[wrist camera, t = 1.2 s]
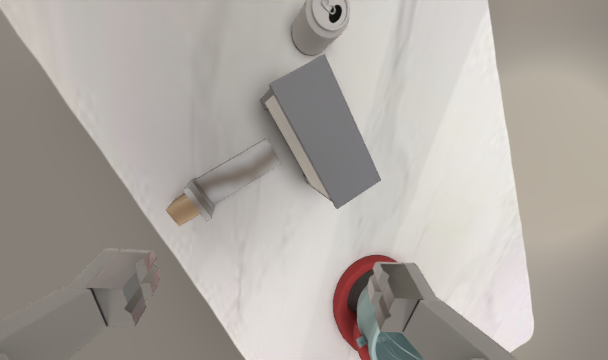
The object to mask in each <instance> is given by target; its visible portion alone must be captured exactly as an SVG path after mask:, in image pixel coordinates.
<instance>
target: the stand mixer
mask: <svg viewBox="0 0 608 360" xmlns="http://www.w3.org/2000/svg"><path fill="white" fill-rule="evenodd" d="M376 262H395V263H397V262H396V261H395V260H393V259H391V258H389V257H386V256H381V255H372V256H368V257H364V258H362V259H360V260H358V261H356V262H355V263H354V264H353V265H351V266H350V267H349V268H348V269H347V271H346V272H345V273H344V274H343V276H342V277H341V279H340V281H339V282H338V285H337V288H336V292H335V296H334V300H333V306H334V317H335V320H336V323H337V325H338V328H339V331H340V332H341V334H342V336H343V338H344V339H345V340H346V341H347V342H348V343H349V344H350V345H351V346H352V347H353V348H354V349H355V350H356V351H358V353H359V356H360V358H361V360H425V359H424V358H423V357H422V356H421V355H420V354H419V352H418V351H417V350H416V349H415V348H414V347H413V345H412V344H411V343H410V342H409V341H408V340H407V338H406V337H405V336H404V335H403V333H399V332H380V329H379V326H378V323H377V320H376V317H375V314H374V313H375V311H376V307H375V306H374V305H373V304H372V303H371V302H370V298H369V294H368V284H367V286H366V287H365V288H364V289H363V291H362V292H361V294H360V296H359V299H358V304H357V314H356V313H354V312H352V311H351V310H350V309H349V306H348V295H349V292H350V290H351V288H352V286H353V284H354V283H355V282H356V281H357V280H358V279H359V278H360V277H361V276H362V275H363V274H365V273H366V272H368V271H370V270H372V269H373V267H374V264H375V263H376ZM433 293H434V292H433ZM437 299H438V301H441V300H440V299H439V298H437Z"/></svg>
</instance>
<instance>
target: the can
mask: <svg viewBox="0 0 608 360" xmlns="http://www.w3.org/2000/svg"><path fill="white" fill-rule="evenodd" d="M349 13H350V6H349V1H348V0H306V1H305V3H304V5H303V7H302V9H301V10H300V12H299V14H298V16H297V18H296V19H295V21H294V24H293V26H292V37H293V41H294V43H295V45H296V47H297V48H298V49H299V50H300V51H301V52H303V53H305V54H308V55H316V54H318V53H320V52H322V51H323V50H324V49H325V48H326V47H327V46H328V45H330V44H331V43H332V42H333V41H334V40H335V39H336V38H337V37H338V36H340V35H341V34H342V32H343V31H344V30H345V29H346V27H347V24H348V22H349Z"/></svg>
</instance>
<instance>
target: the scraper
mask: <svg viewBox="0 0 608 360" xmlns="http://www.w3.org/2000/svg"><path fill="white" fill-rule="evenodd" d="M280 164H281V162H280V160H279V159H278V157H277V155H276V154H275V152H274V150H273V149H272V147H271V145H270V143H269V142H268V140H267V139H264V140H263V141H261V142H259V143H258V144H256V145H254V146H252V147H251V148H249V149H247V150H246V151H244V152H242V153H240V154H239V155H237V156H235V157H234V158H232V159H230V160H228V161H227V162H225V163H223V164H222V165H220V166H218V167H217V168H215V169H213V170H211V171H210V172H208V173H206V174H205V175H203V176H201V177H199V178H198V179H196V178H195V179H193V180H191V181H190V182H189V183H188V185H187V186H186V187H185V188H184V189H183V192H184V194H183V195H181V196H179V197H178V198H176V199H175V200H174V201H173V202H172V203H171V204H170V206H169V207H168V208H167V209H166V211H167V212H168V214H169V215H170V216H171V217H172V218H173V220H174V221H175V222H176V223H177V225H178V226H181V225H182V224H184V223H186V222H187V221H189V220H191V219H192V218H194V217H196V216H197V215H199V214H201V215H202V216H203V218H204V219H205V220H206V221H208V220H209V219H211V218H212V214H213V210H214V206H215V204H216V203H218V202H219V201H221V200H223V199H224V198H226V197H228V196H229V195H231V194H233V193H234V192H236V191H238V190H239V189H241V188H242V187H244V186H246V185H247V184H249V183H251V182H252V181H254V180H256V179H257V178H259V177H261V176H262V175H264V174H266V173H267V172H269V171H270V170H272V169H274V168H275V167H277V166H279V165H280Z"/></svg>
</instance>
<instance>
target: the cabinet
mask: <svg viewBox="0 0 608 360" xmlns="http://www.w3.org/2000/svg"><path fill="white" fill-rule="evenodd" d="M269 86H270V89H269V90H268V92H267V93H266V94H265V95H264V96H263V97H262V99H261V100H260V101H261V103H262V105H263V107H264V108H265V109H267V108H268V109H269V111H270V113H271V115H272V117H273V118H274V120H275V122H276V124H277V125H278V127H279V129H280V131H281V133H282V134H283V136H284V138H285V140H286V141H287V143H288V145H289V147H290V149H291V150H292V152H293V154H294V156H295V157H296V159H297V161H298V163H299V165H300V166H301V168H302V170H303V172H304V173H305V175H303V177H304V179H305V181H306V183H307V184H309V185H310V186H311V187H313V188H314V189H315V190H317V191H318V192H319V193H321V194H322V195H323V196H325V197H326V198H327V199H329V200H330V201H332V202H333V204H334V206H335V208H337V209H338V208H340V207H341V206H343V205H344V204H346V203H347V202H349V201H350V200H352V199H353V198H355V197H356V196H358V195H359V194H361V193H362V192H364V191H365V190H367V189H368V188H370V187H371V186H373V185H374V184H376V183H378V182H379V181H381V179H380V176H379V174H378V172H377V170H376V167H375V165H374V163H373V161H372V159H371V156H370V154H369V152H368V150H367V147H366V145H365V143H364V141H363V139H362V136H361V134H360V132H359V130H358V127H357V125H356V123H355V121H354V118H353V116H352V114H351V112H350V110H349V107H348V105H347V103H346V101H345V98H344V96H343V94H342V92H341V90H340V87H339V85H338V83H337V81H336V78H335V76H334V74H333V72H332V69H331V67H330V65H329V63H328V61H327V58H326V56H325V54H324V55H322V56H320V57H318V58H316V59H315V60H313V61H311V62H309V63H307V64H305V65H304V66H302V67H300V68H298V69H296V70H295V71H293V72H291V73H289V74H287V75H286V76H284V77H282V78H280V79H278V80H277V81H275V82H273V83H271V84H270V85H269Z"/></svg>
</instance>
